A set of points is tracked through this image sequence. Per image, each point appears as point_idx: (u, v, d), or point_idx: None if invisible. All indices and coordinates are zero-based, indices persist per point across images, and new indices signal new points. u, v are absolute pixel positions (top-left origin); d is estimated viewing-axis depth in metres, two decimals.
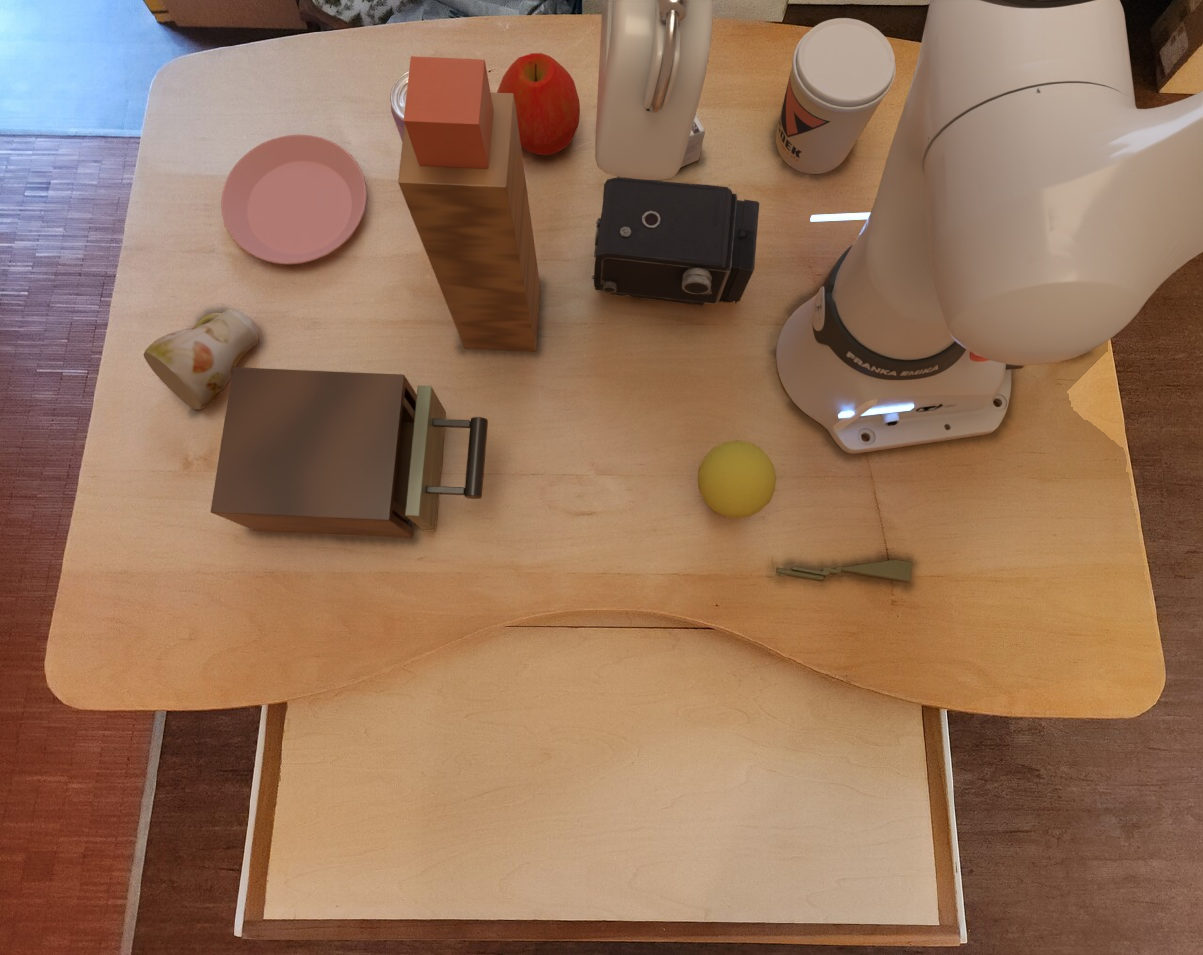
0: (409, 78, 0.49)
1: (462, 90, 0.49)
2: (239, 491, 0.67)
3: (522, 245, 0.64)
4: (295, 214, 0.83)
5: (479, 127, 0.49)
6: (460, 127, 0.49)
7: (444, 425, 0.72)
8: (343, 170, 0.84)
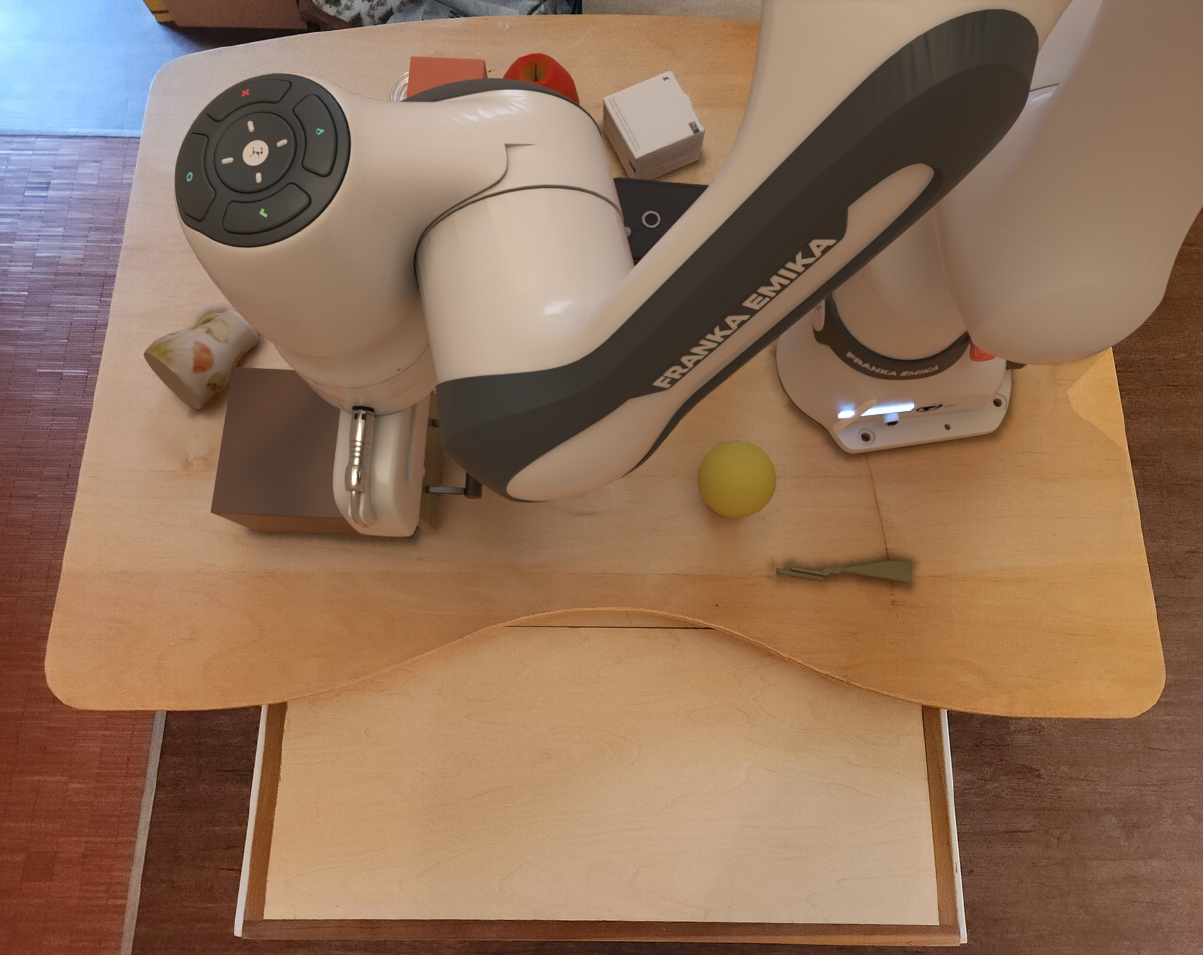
0: (409, 78, 0.49)
1: None
2: (239, 491, 0.67)
3: None
4: None
5: None
6: None
7: None
8: None
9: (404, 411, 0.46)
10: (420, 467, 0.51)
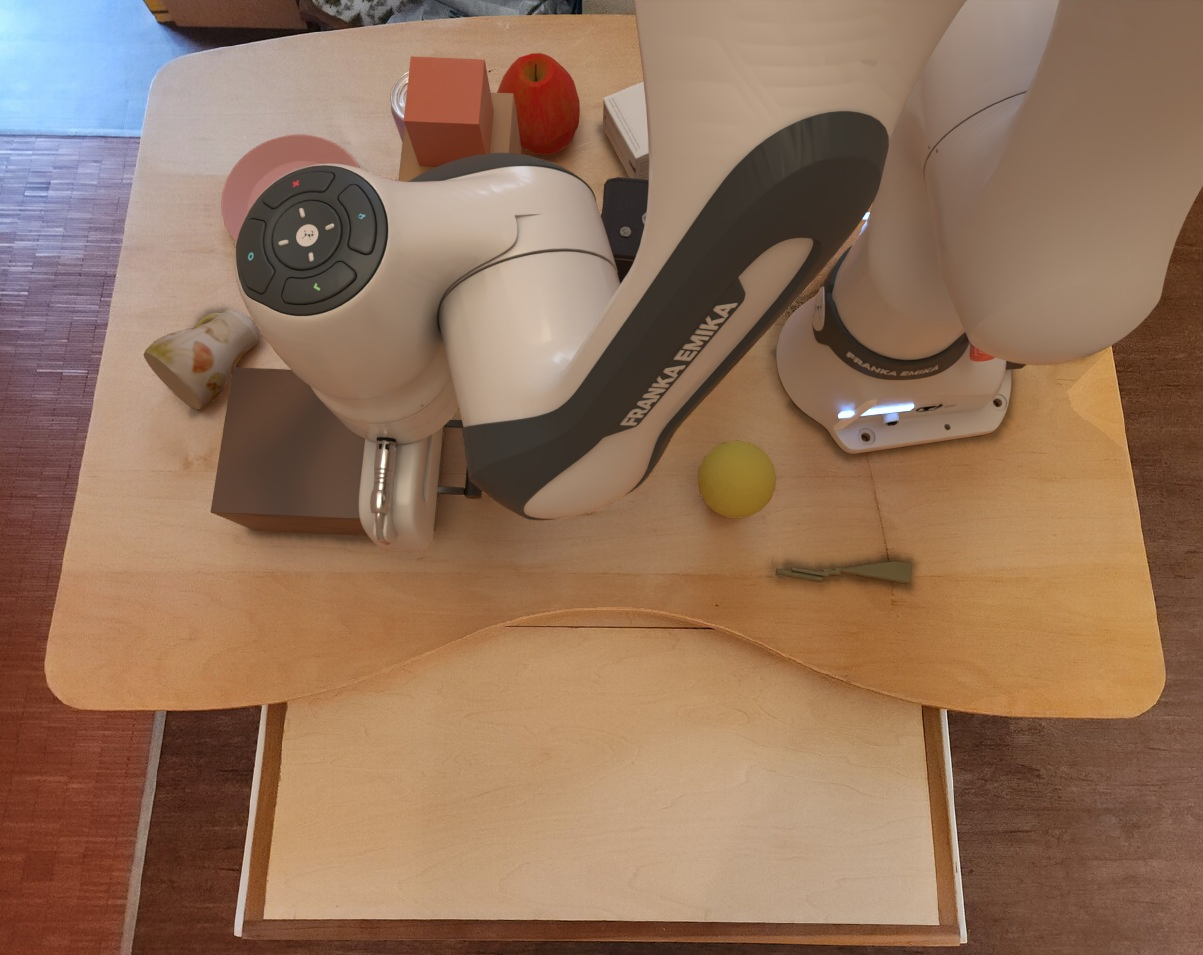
0: (409, 78, 0.49)
1: (462, 90, 0.49)
2: (239, 491, 0.67)
3: None
4: None
5: (479, 127, 0.49)
6: (460, 127, 0.49)
7: (444, 425, 0.72)
8: None
9: (422, 441, 0.52)
10: (435, 489, 0.56)
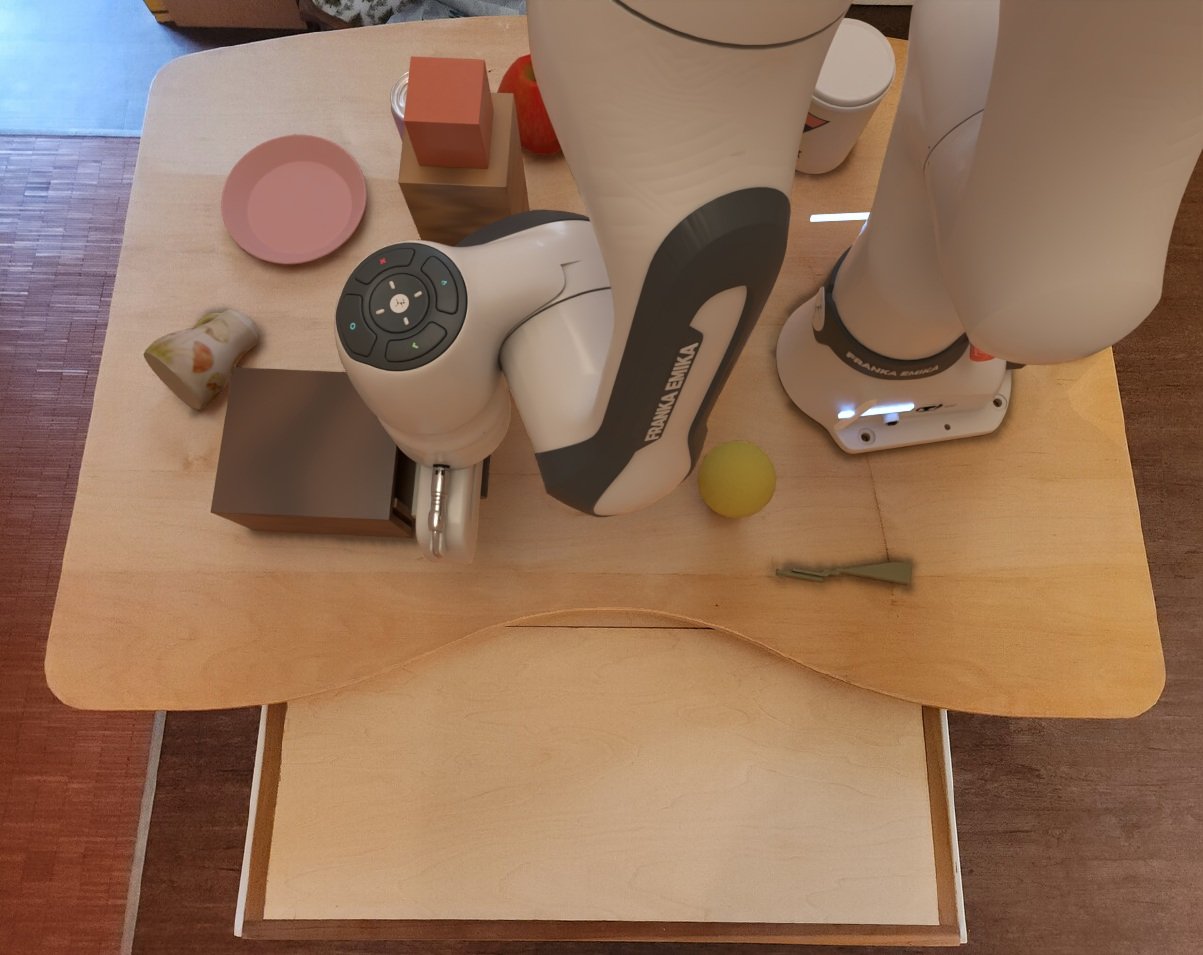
0: (409, 78, 0.49)
1: (462, 90, 0.49)
2: (239, 491, 0.67)
3: None
4: (295, 214, 0.83)
5: (479, 127, 0.49)
6: (460, 127, 0.49)
7: None
8: (343, 170, 0.84)
9: (471, 466, 0.59)
10: (477, 508, 0.63)
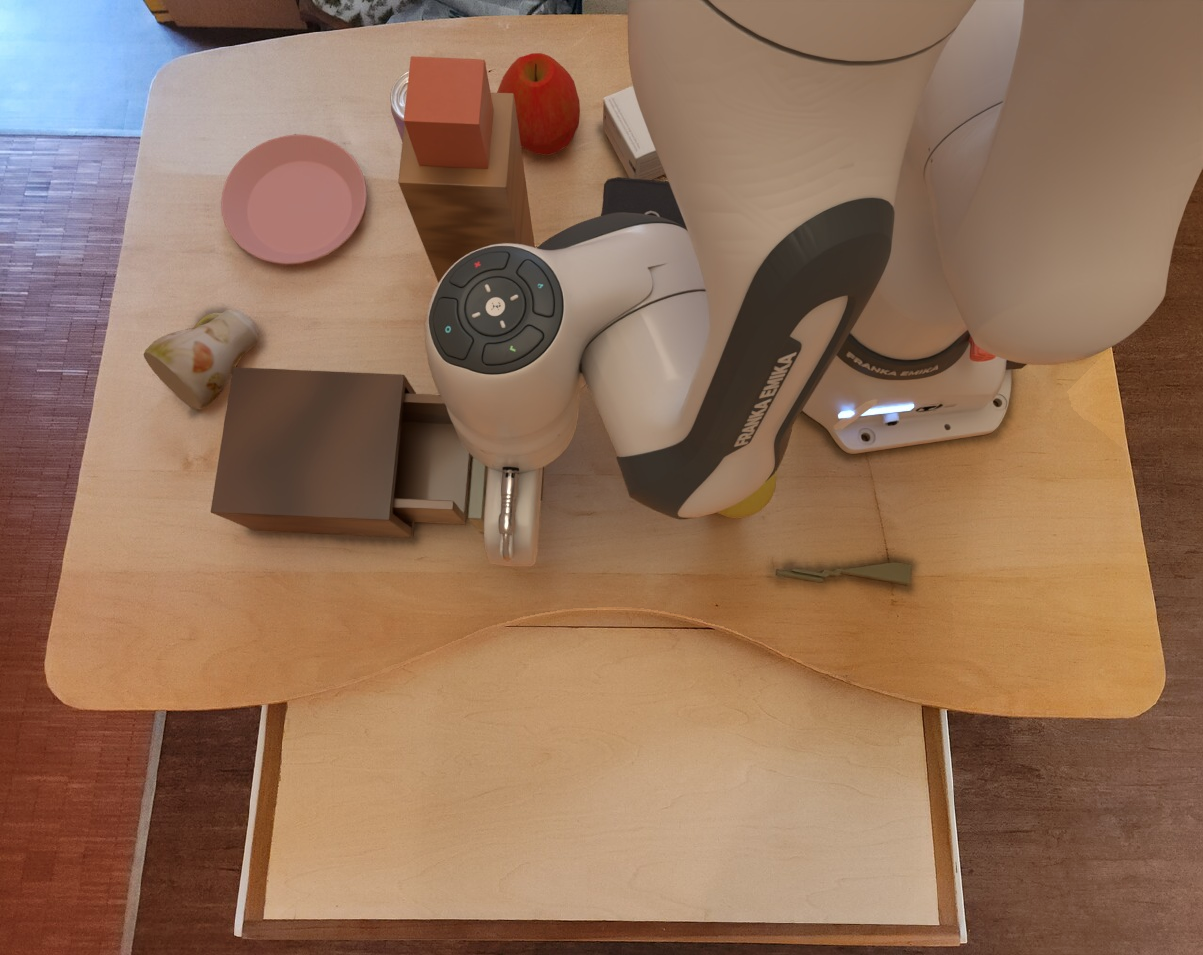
0: (409, 78, 0.49)
1: (462, 90, 0.49)
2: (239, 491, 0.67)
3: None
4: (295, 214, 0.83)
5: (479, 127, 0.49)
6: (460, 127, 0.49)
7: None
8: (343, 170, 0.84)
9: (538, 469, 0.59)
10: (539, 510, 0.63)
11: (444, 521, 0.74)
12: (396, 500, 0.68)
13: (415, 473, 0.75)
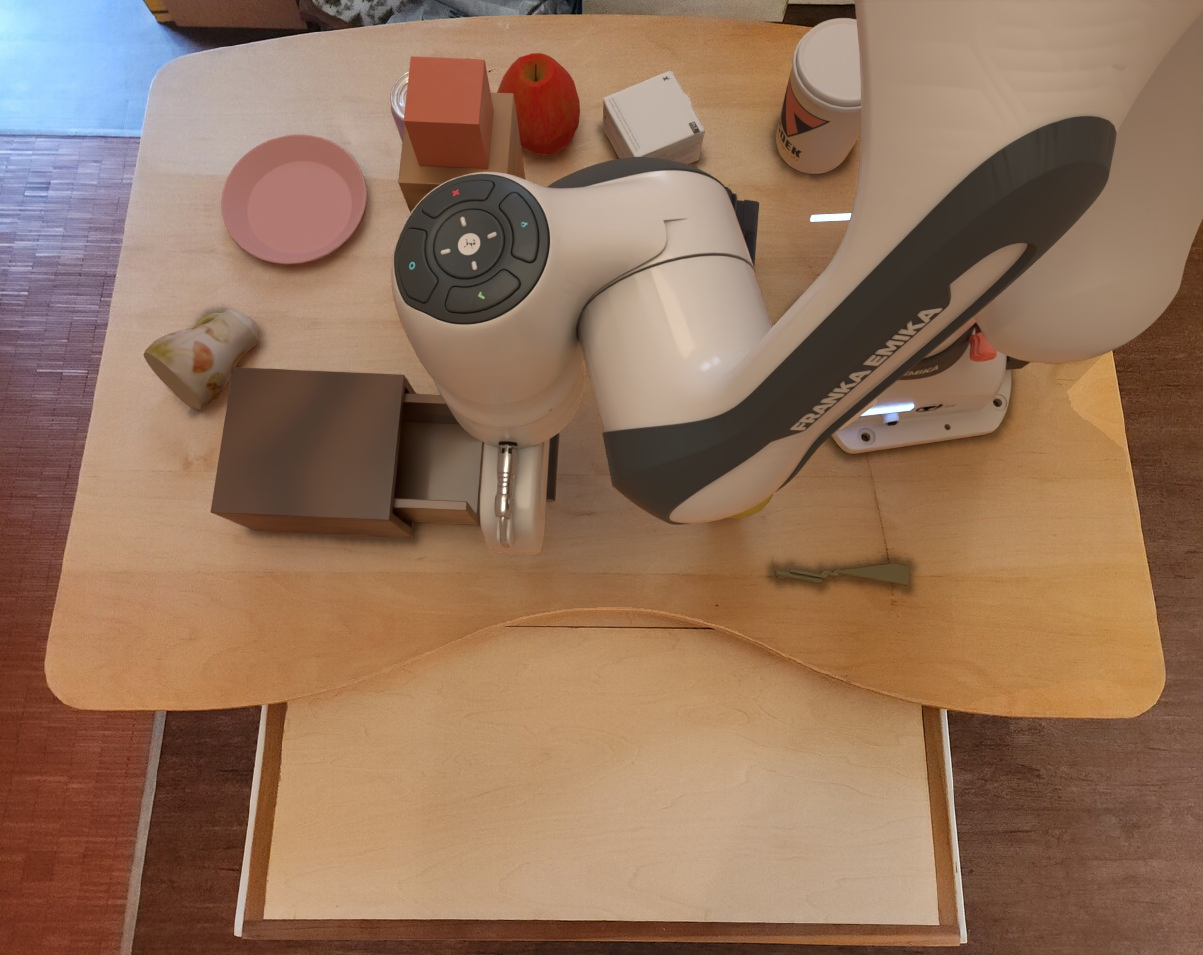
0: (409, 78, 0.49)
1: (462, 90, 0.49)
2: (239, 491, 0.67)
3: None
4: (295, 214, 0.83)
5: (479, 127, 0.49)
6: (460, 127, 0.49)
7: None
8: (343, 170, 0.84)
9: (540, 444, 0.52)
10: (545, 491, 0.57)
11: (457, 522, 0.74)
12: (410, 501, 0.68)
13: (428, 473, 0.75)
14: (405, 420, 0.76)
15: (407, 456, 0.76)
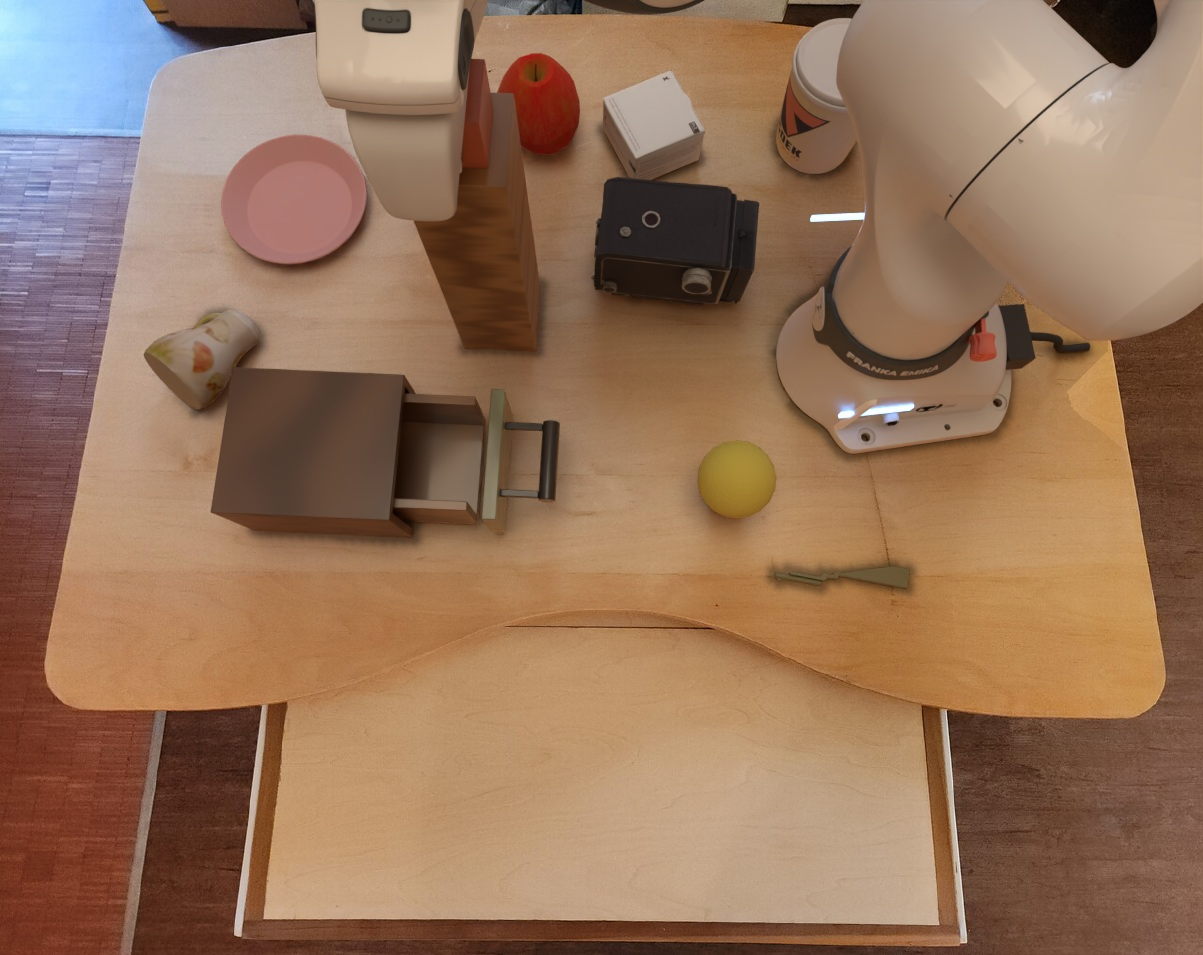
0: None
1: None
2: (239, 491, 0.67)
3: (522, 245, 0.64)
4: (295, 214, 0.83)
5: (479, 127, 0.49)
6: None
7: (517, 428, 0.72)
8: (343, 170, 0.84)
9: None
10: None
11: (457, 522, 0.74)
12: (410, 501, 0.68)
13: (428, 473, 0.75)
14: (405, 420, 0.76)
15: (407, 456, 0.76)
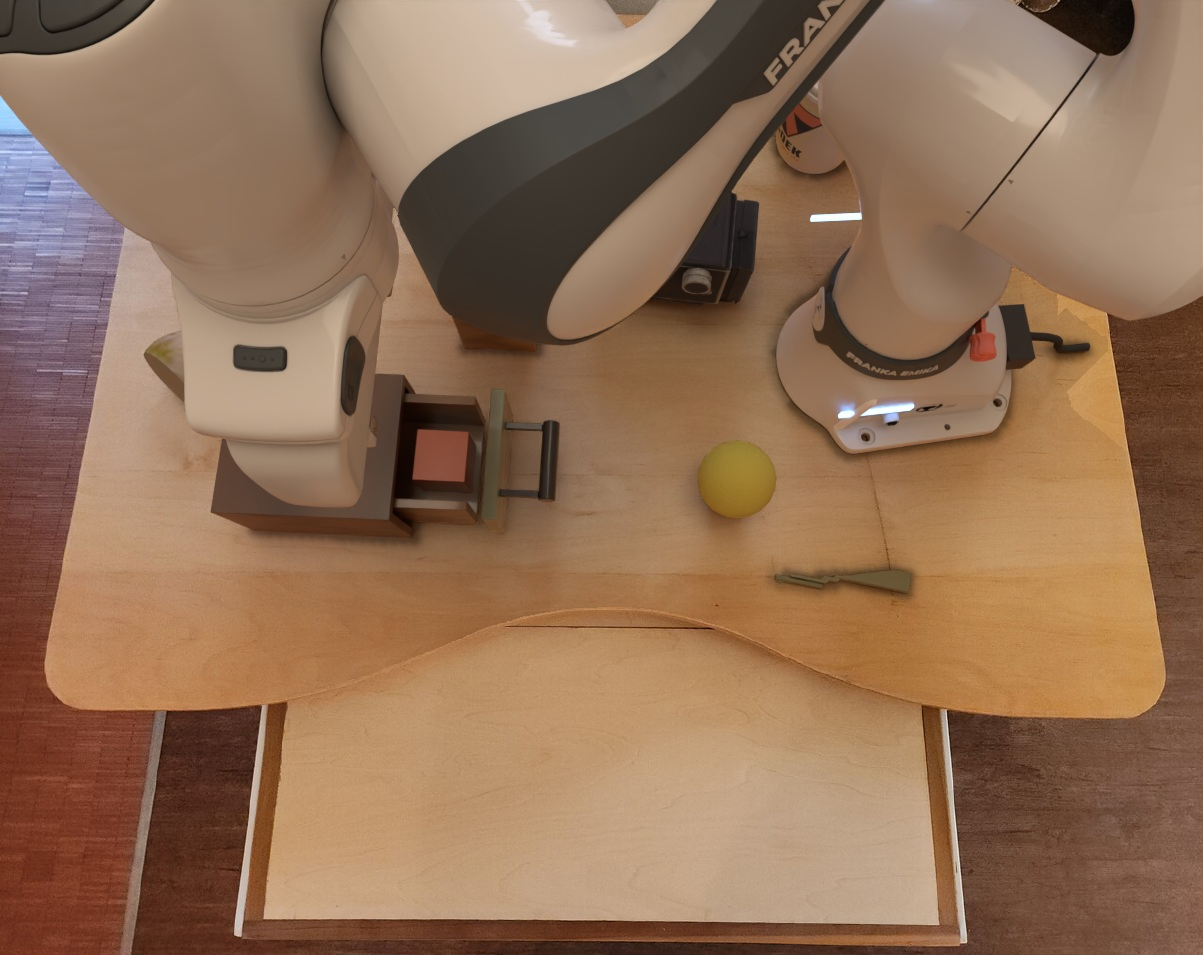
0: (416, 446, 0.71)
1: (453, 456, 0.71)
2: (239, 491, 0.67)
3: None
4: None
5: (464, 482, 0.71)
6: (452, 482, 0.71)
7: (517, 428, 0.72)
8: None
9: None
10: None
11: (457, 522, 0.74)
12: (410, 501, 0.68)
13: None
14: (405, 420, 0.76)
15: (407, 456, 0.76)
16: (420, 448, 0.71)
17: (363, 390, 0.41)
